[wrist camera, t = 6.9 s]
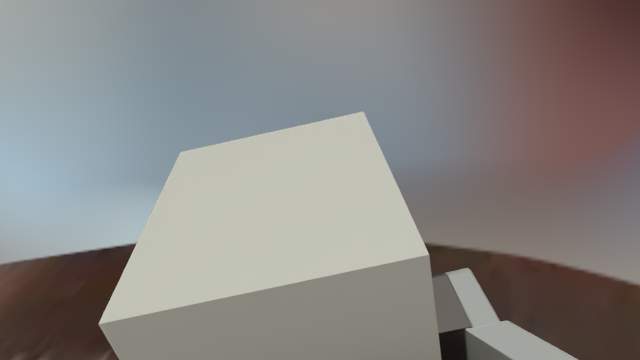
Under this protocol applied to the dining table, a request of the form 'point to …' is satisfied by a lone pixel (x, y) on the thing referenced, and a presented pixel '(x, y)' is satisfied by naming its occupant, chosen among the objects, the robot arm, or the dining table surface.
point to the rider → (278, 256)
